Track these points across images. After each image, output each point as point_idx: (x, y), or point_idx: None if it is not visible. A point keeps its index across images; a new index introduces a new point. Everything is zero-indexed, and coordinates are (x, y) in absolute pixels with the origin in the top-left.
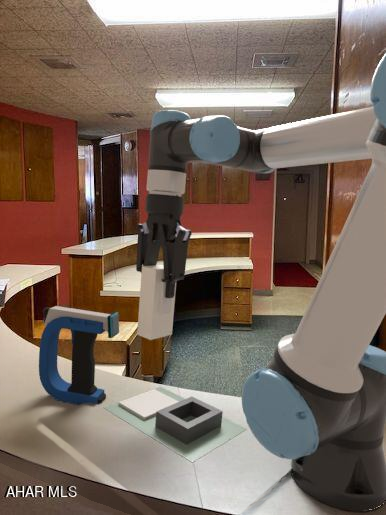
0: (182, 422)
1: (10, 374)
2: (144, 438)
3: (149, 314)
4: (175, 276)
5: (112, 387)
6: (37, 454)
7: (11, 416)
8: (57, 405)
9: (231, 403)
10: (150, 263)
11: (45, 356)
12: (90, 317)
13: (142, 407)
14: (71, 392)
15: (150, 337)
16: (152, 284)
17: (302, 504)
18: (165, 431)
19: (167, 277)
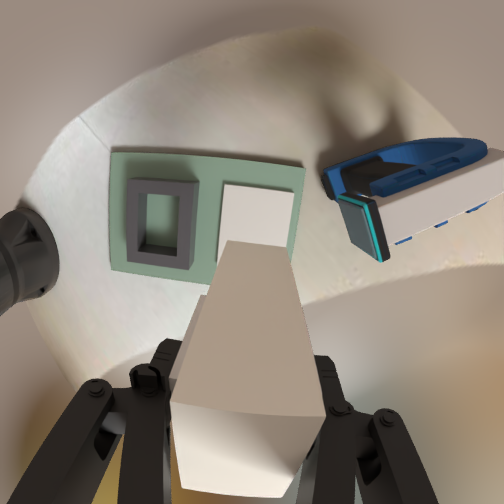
0: (143, 187)
1: None
2: (200, 155)
3: (232, 269)
4: (80, 389)
5: None
6: (281, 36)
7: (389, 77)
8: (373, 138)
9: (177, 326)
10: (311, 469)
11: (442, 140)
12: (423, 185)
13: (250, 207)
14: (370, 156)
15: (227, 241)
16: (211, 338)
17: (28, 193)
18: (177, 179)
19: (139, 394)
